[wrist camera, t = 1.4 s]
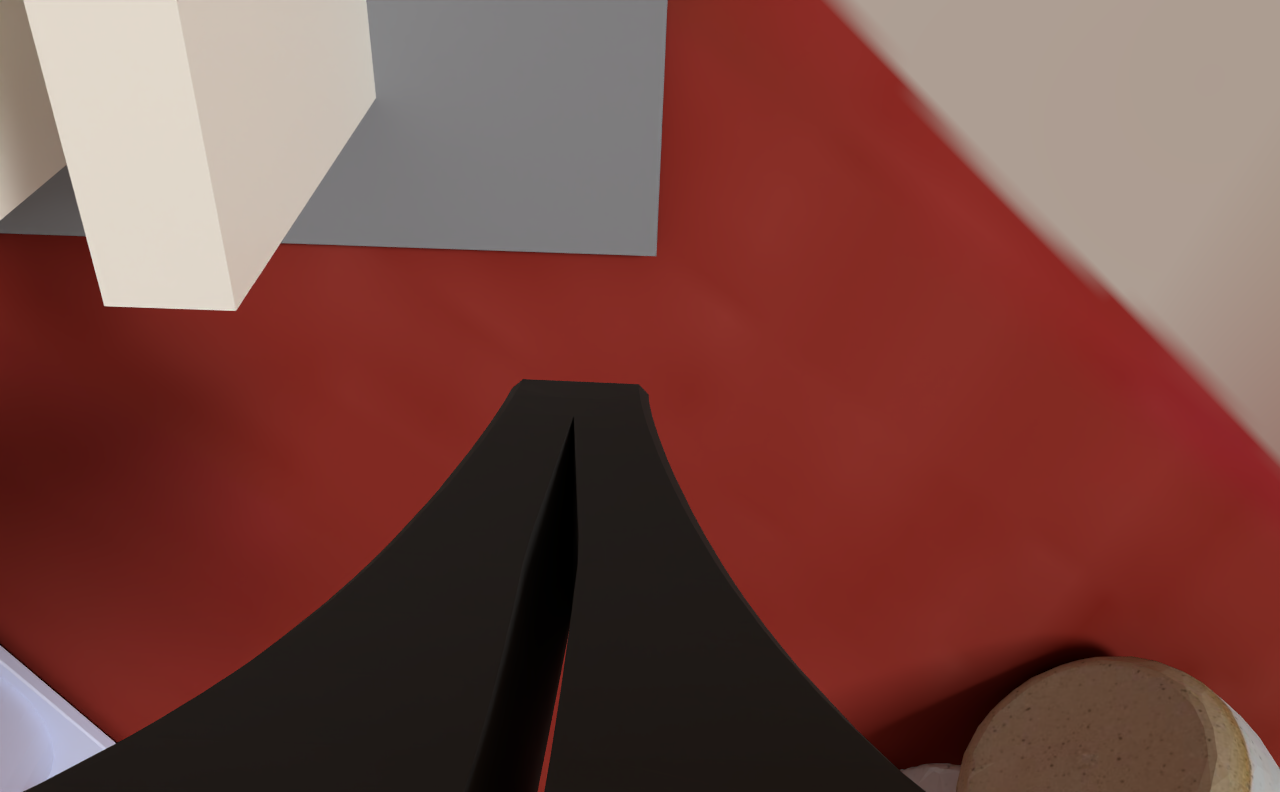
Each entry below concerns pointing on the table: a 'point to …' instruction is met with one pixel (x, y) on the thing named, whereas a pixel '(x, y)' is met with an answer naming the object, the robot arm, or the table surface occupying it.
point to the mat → (484, 133)
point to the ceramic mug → (1109, 737)
